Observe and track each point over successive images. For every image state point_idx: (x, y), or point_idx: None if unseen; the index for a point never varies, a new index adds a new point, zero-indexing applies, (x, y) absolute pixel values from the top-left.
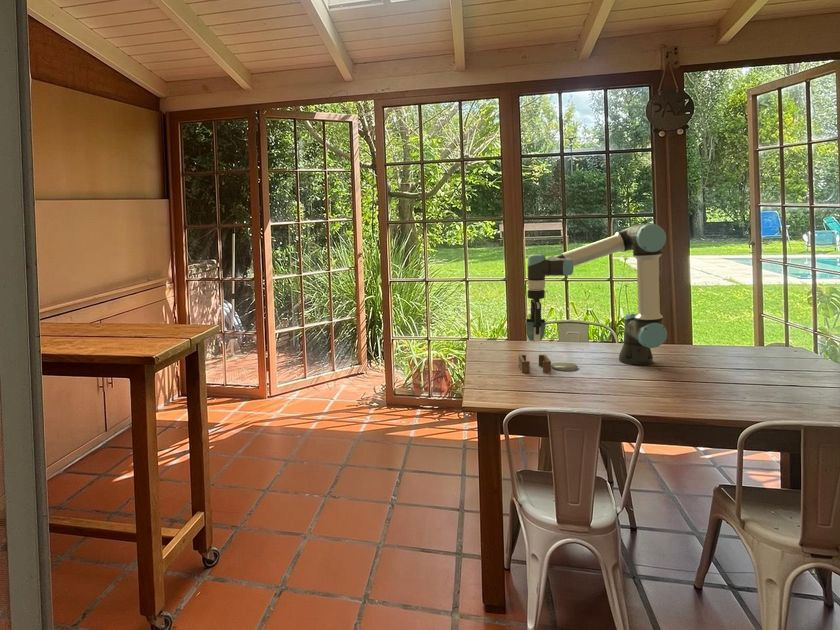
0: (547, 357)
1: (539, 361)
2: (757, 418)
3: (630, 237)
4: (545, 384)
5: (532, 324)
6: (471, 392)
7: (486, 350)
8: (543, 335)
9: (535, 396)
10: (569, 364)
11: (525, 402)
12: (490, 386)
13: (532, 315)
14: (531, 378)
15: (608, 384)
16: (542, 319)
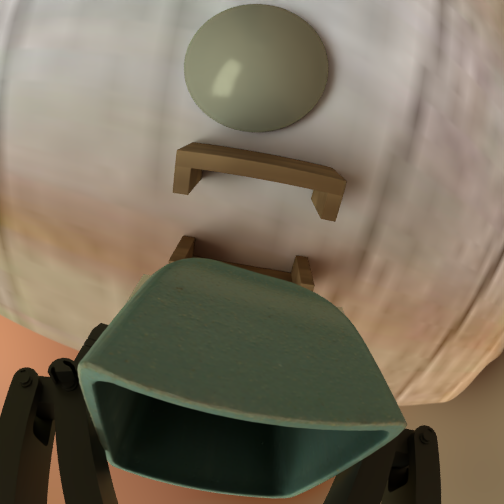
0: (248, 163)
1: (196, 182)
2: None
3: None
4: (452, 252)
5: (316, 467)
6: (406, 403)
7: (18, 298)
8: (339, 310)
9: (495, 305)
10: (231, 30)
11: (501, 329)
12: (394, 379)
13: (114, 492)
14: (382, 274)
15: (497, 52)
16: (97, 390)
